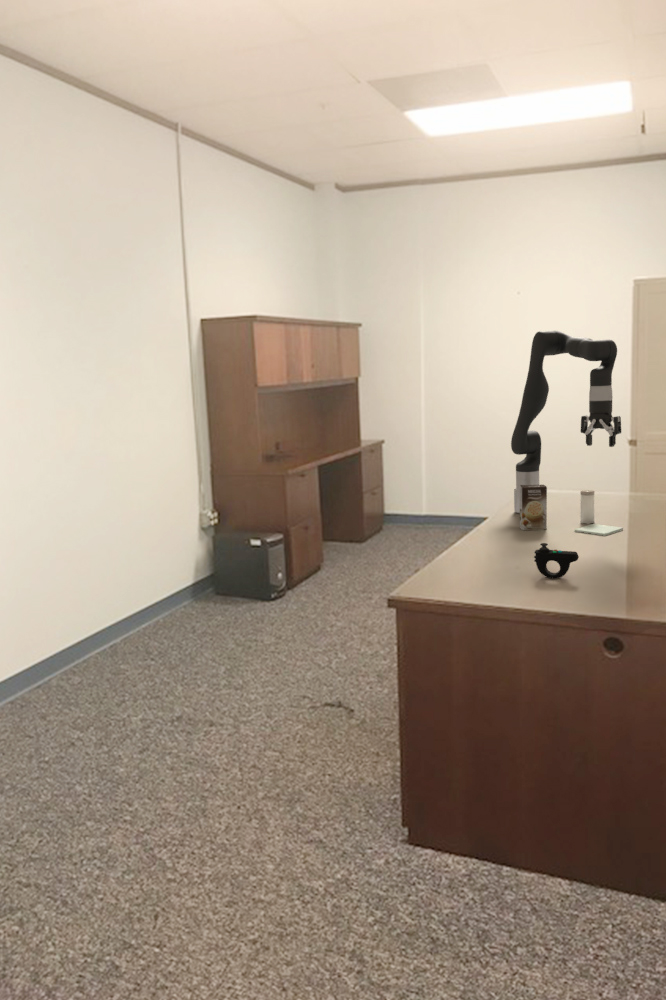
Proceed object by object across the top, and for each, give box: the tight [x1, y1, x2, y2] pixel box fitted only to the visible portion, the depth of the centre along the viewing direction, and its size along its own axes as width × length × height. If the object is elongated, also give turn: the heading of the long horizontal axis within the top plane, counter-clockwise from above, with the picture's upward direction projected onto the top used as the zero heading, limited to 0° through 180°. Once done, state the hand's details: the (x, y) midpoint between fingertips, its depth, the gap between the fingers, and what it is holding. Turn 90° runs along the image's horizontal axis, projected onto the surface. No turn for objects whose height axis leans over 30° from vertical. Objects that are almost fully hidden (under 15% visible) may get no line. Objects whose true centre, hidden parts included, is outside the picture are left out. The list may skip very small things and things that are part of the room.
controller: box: [533, 542, 580, 580], centre depth 228 cm, size 4×12×10 cm, turn 65°
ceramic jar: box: [579, 489, 595, 525], centre depth 299 cm, size 5×5×12 cm
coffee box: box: [519, 484, 548, 531], centre depth 294 cm, size 9×6×16 cm
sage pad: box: [574, 523, 624, 537], centre depth 285 cm, size 12×12×1 cm
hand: (600, 446), depth 275 cm, fingers open, 8 cm apart
